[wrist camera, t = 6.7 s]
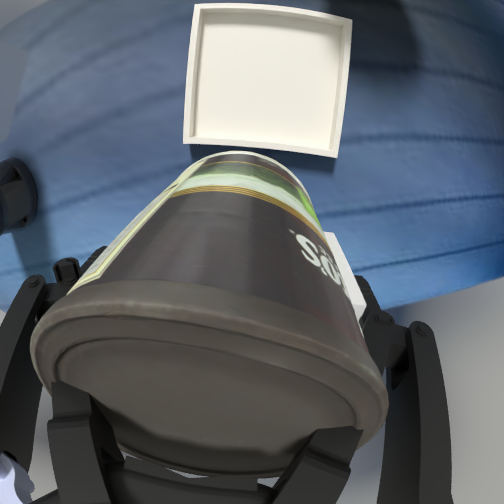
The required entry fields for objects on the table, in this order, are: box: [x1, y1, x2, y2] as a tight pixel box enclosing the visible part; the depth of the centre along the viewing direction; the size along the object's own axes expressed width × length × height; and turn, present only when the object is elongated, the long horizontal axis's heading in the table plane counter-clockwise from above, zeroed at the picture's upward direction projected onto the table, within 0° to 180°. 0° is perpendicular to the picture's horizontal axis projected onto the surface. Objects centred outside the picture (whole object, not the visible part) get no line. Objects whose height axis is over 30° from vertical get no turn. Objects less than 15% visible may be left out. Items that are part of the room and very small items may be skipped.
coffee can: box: [30, 151, 389, 478], centre depth 12 cm, size 10×10×14 cm
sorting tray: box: [183, 3, 352, 158], centre depth 29 cm, size 20×20×3 cm
